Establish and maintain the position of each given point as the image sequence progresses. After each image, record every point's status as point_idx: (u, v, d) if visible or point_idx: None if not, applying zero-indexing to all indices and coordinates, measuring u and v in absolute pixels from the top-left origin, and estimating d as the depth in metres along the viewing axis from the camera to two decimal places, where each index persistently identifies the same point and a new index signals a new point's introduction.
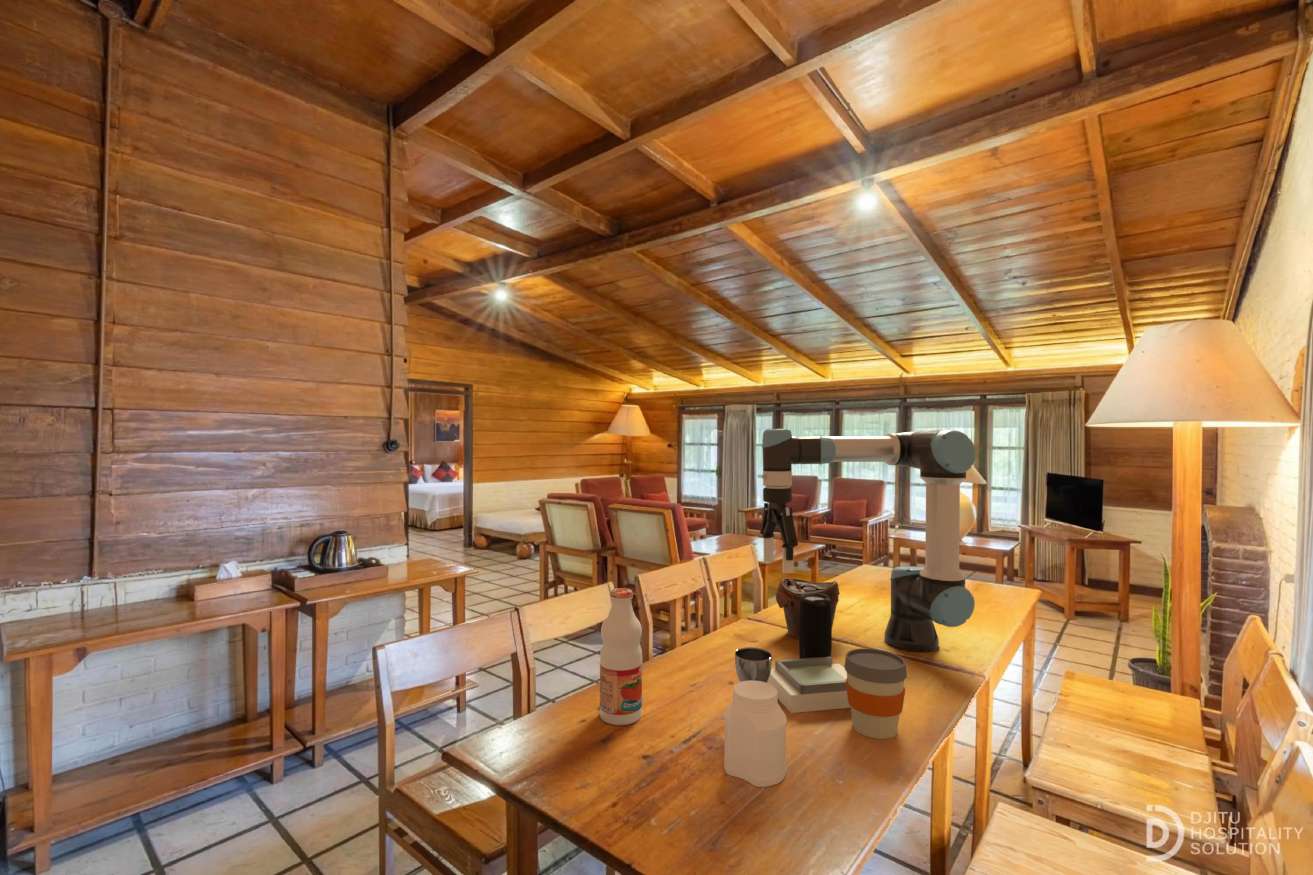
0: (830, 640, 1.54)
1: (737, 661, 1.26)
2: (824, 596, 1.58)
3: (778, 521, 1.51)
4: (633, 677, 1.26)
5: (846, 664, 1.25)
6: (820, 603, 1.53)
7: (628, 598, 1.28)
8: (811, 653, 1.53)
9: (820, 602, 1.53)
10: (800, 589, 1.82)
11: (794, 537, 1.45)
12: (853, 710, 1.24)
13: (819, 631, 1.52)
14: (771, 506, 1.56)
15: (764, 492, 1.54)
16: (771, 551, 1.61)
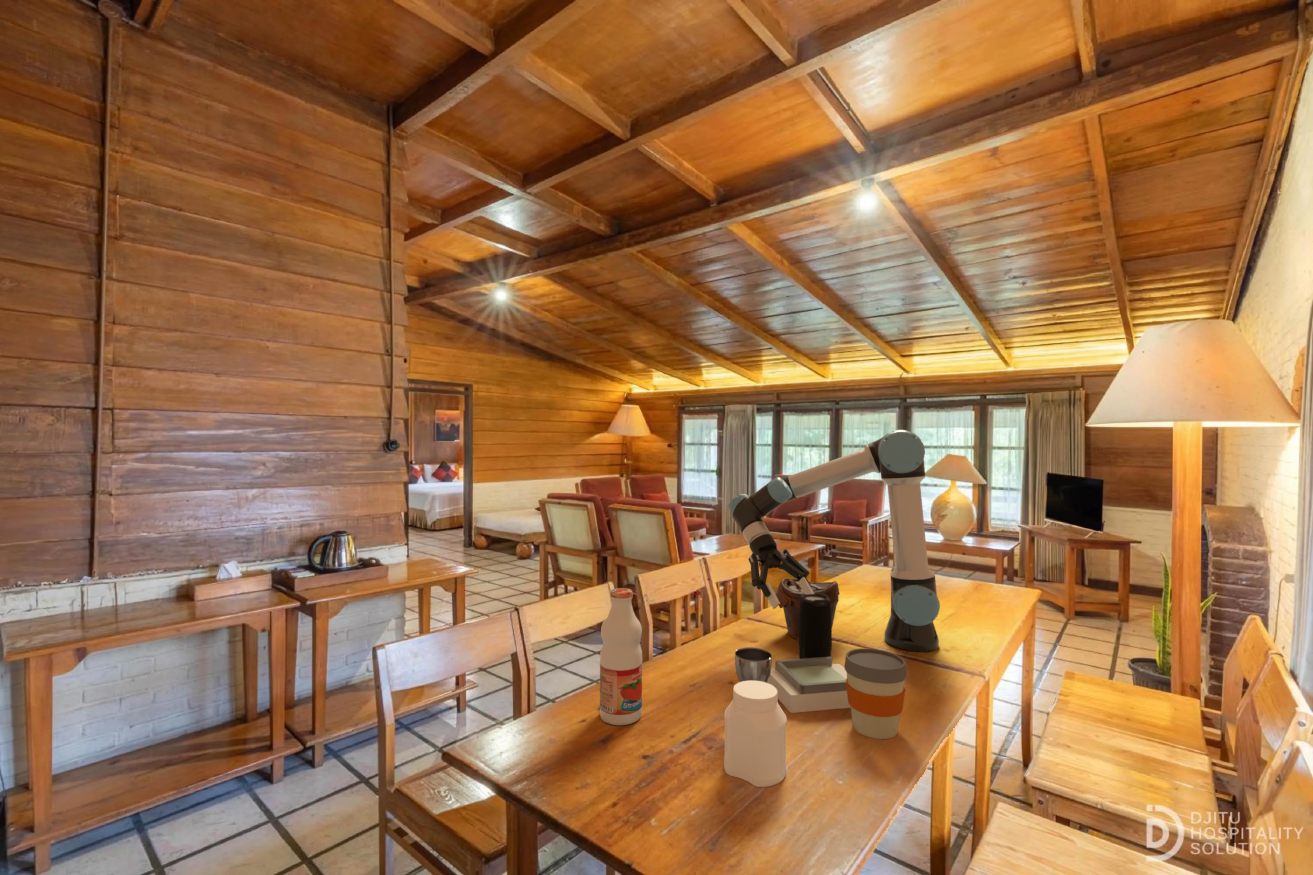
0: (830, 640, 1.54)
1: (737, 661, 1.26)
2: (824, 596, 1.58)
3: (761, 568, 1.69)
4: (633, 677, 1.26)
5: (846, 664, 1.25)
6: (820, 603, 1.53)
7: (628, 598, 1.28)
8: (811, 653, 1.53)
9: (820, 602, 1.53)
10: (800, 589, 1.82)
11: (754, 576, 1.63)
12: (853, 710, 1.24)
13: (819, 631, 1.52)
14: None
15: None
16: (807, 589, 1.67)
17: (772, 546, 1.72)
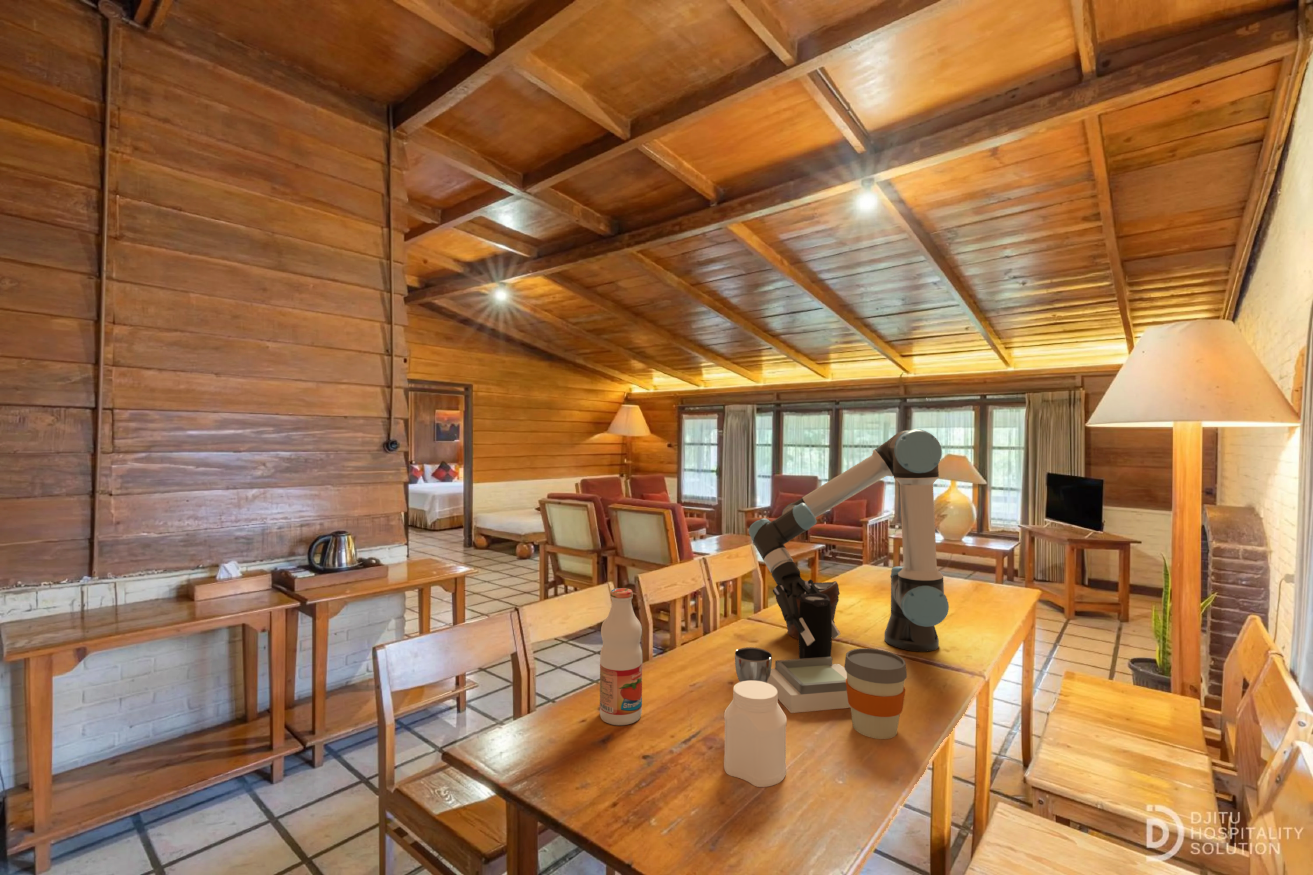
0: (830, 640, 1.54)
1: (737, 661, 1.26)
2: (824, 596, 1.58)
3: (787, 599, 1.61)
4: (633, 677, 1.26)
5: (846, 664, 1.25)
6: (820, 603, 1.53)
7: (628, 598, 1.28)
8: (811, 653, 1.53)
9: (820, 602, 1.53)
10: None
11: (786, 611, 1.55)
12: (853, 710, 1.24)
13: (819, 631, 1.52)
14: None
15: None
16: None
17: (796, 574, 1.65)
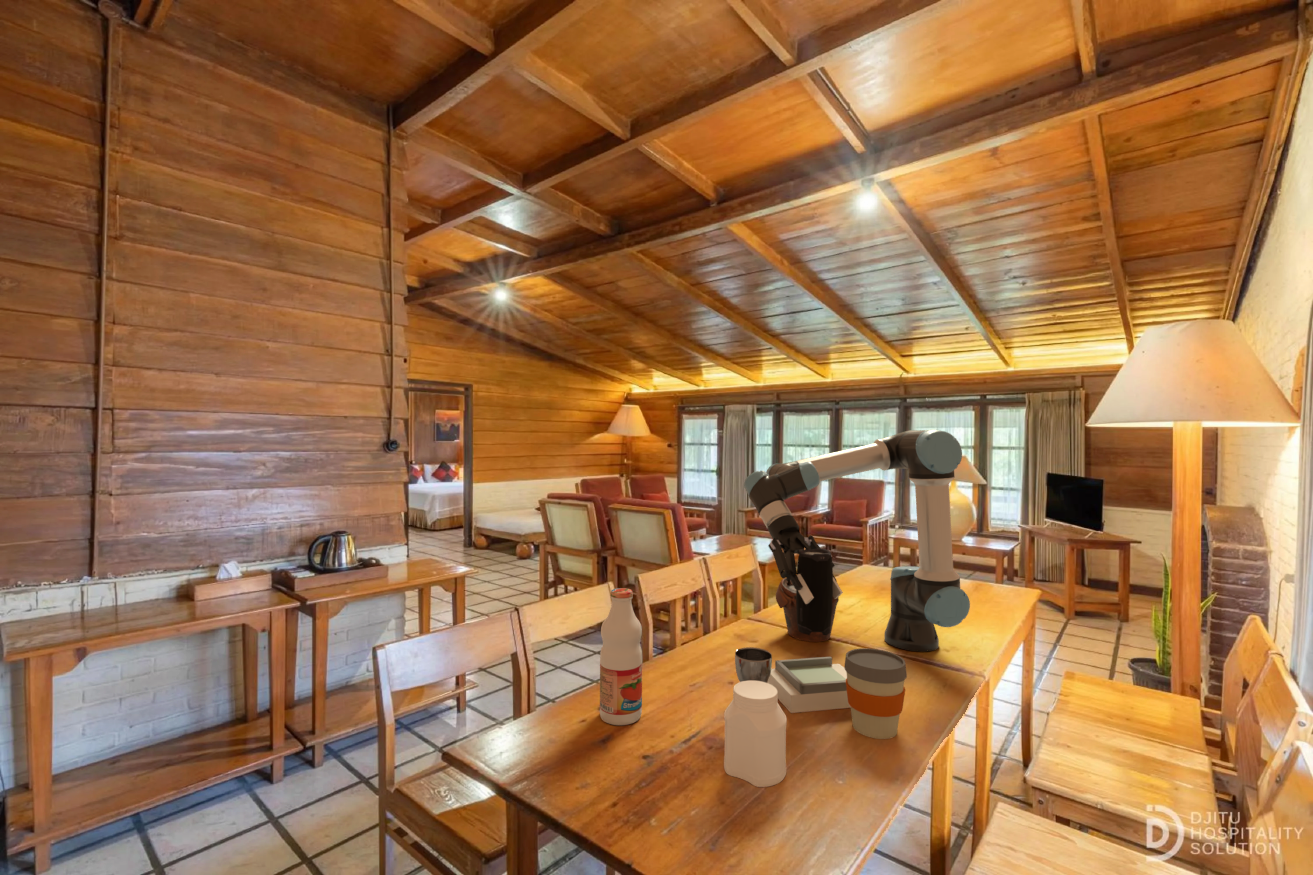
0: (831, 599, 1.39)
1: (737, 661, 1.26)
2: (825, 551, 1.43)
3: (784, 555, 1.46)
4: (633, 677, 1.26)
5: (846, 664, 1.25)
6: (820, 557, 1.38)
7: (628, 598, 1.28)
8: (809, 613, 1.38)
9: (820, 557, 1.38)
10: None
11: (782, 566, 1.40)
12: (853, 710, 1.24)
13: (818, 588, 1.37)
14: None
15: None
16: None
17: (794, 529, 1.50)
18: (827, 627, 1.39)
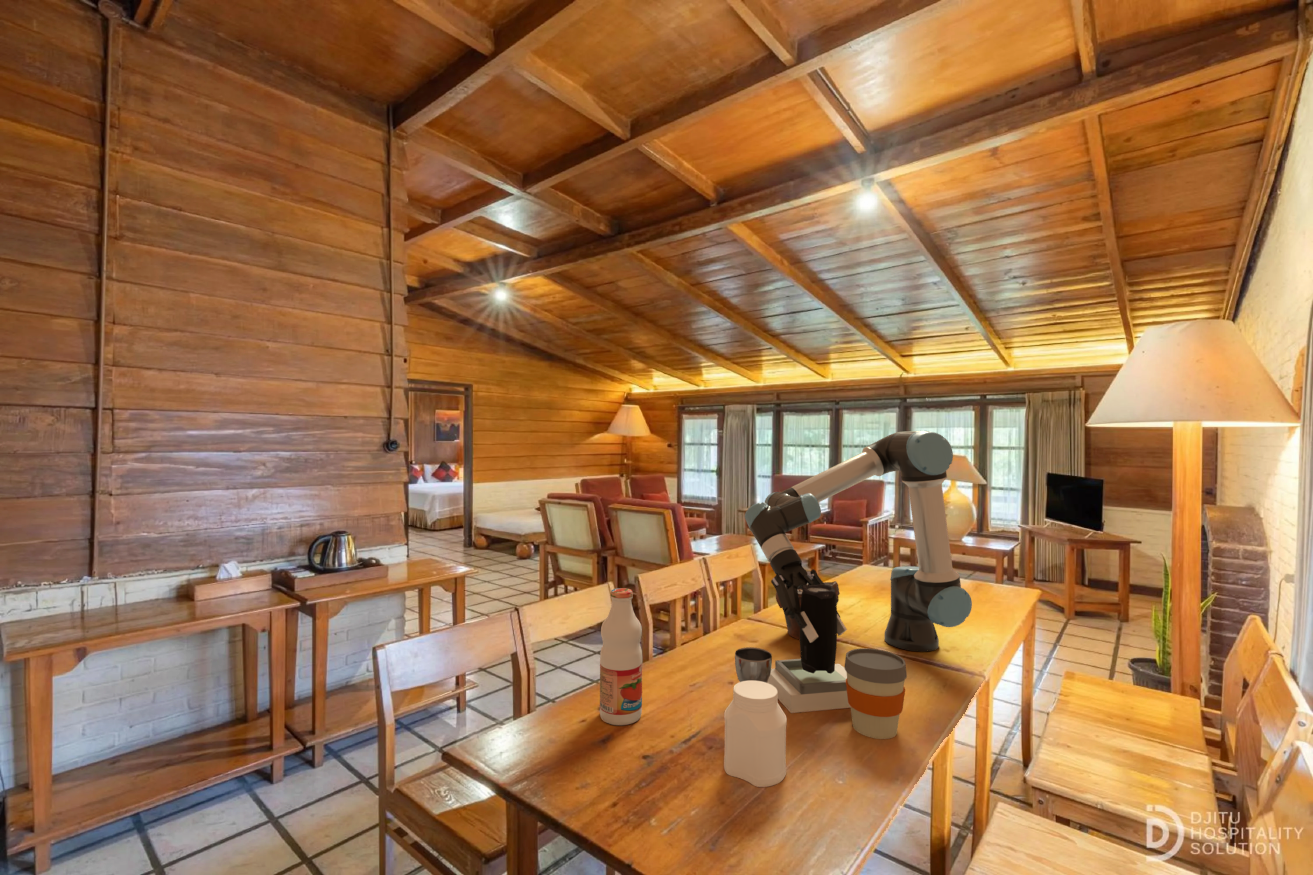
0: (835, 636, 1.37)
1: (737, 661, 1.26)
2: (828, 587, 1.41)
3: (787, 591, 1.44)
4: (633, 677, 1.26)
5: (846, 664, 1.25)
6: (824, 595, 1.36)
7: (628, 598, 1.28)
8: (814, 651, 1.36)
9: (824, 594, 1.36)
10: (800, 589, 1.82)
11: (786, 604, 1.38)
12: (853, 710, 1.24)
13: (823, 626, 1.35)
14: None
15: None
16: None
17: (797, 563, 1.48)
18: (832, 665, 1.37)
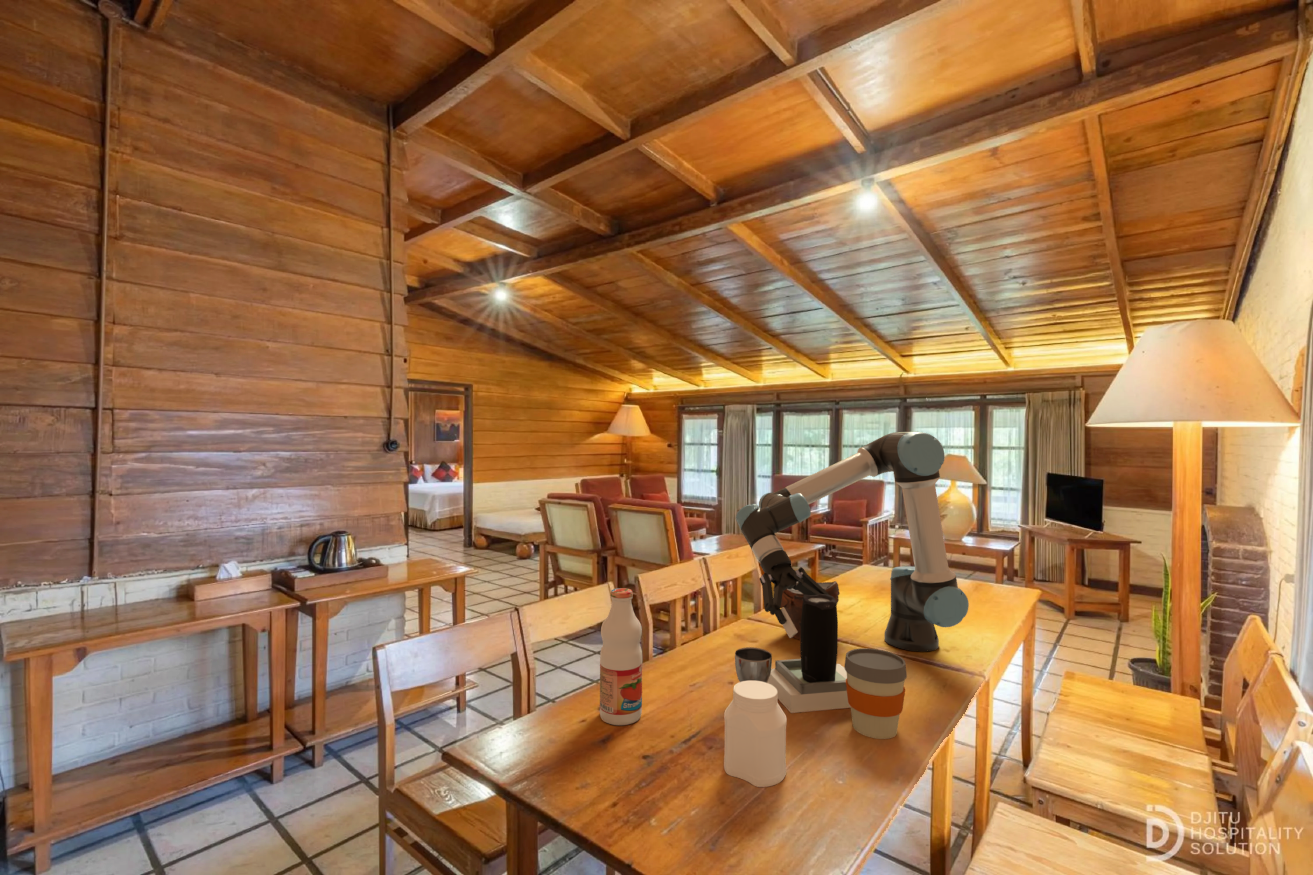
0: (836, 647, 1.37)
1: (737, 661, 1.26)
2: (829, 597, 1.41)
3: (774, 589, 1.47)
4: (633, 677, 1.26)
5: (846, 664, 1.25)
6: (825, 605, 1.36)
7: (628, 598, 1.28)
8: (814, 662, 1.36)
9: (825, 605, 1.36)
10: None
11: (767, 600, 1.41)
12: (853, 710, 1.24)
13: (824, 637, 1.35)
14: None
15: None
16: None
17: (786, 564, 1.51)
18: (832, 676, 1.37)
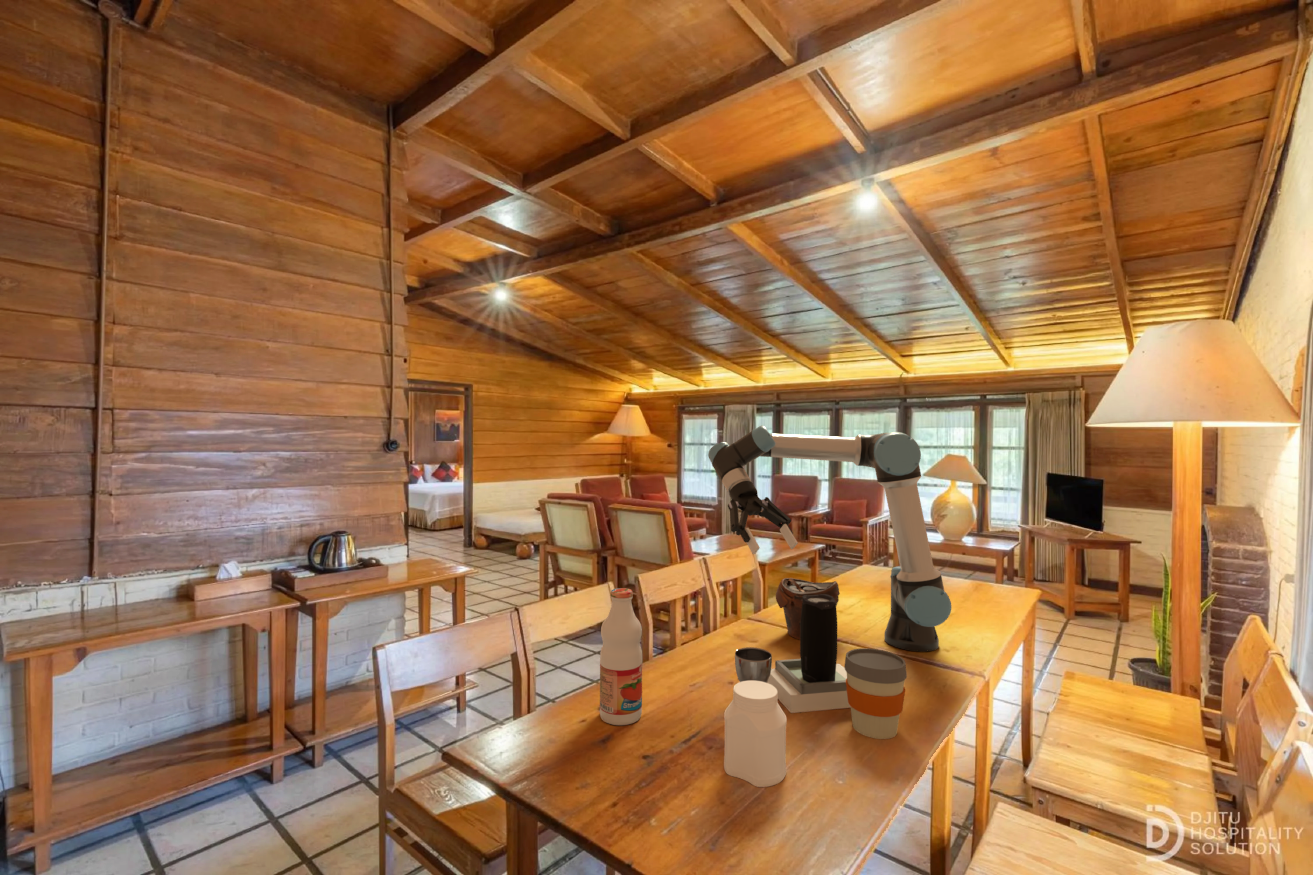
0: (836, 647, 1.37)
1: (737, 661, 1.26)
2: (829, 597, 1.41)
3: (741, 515, 1.62)
4: (633, 677, 1.26)
5: (846, 664, 1.25)
6: (824, 605, 1.36)
7: (628, 598, 1.28)
8: (814, 662, 1.36)
9: (824, 605, 1.36)
10: (800, 589, 1.82)
11: (733, 521, 1.56)
12: (853, 710, 1.24)
13: (823, 637, 1.35)
14: None
15: None
16: (789, 536, 1.60)
17: (752, 493, 1.65)
18: (832, 676, 1.37)
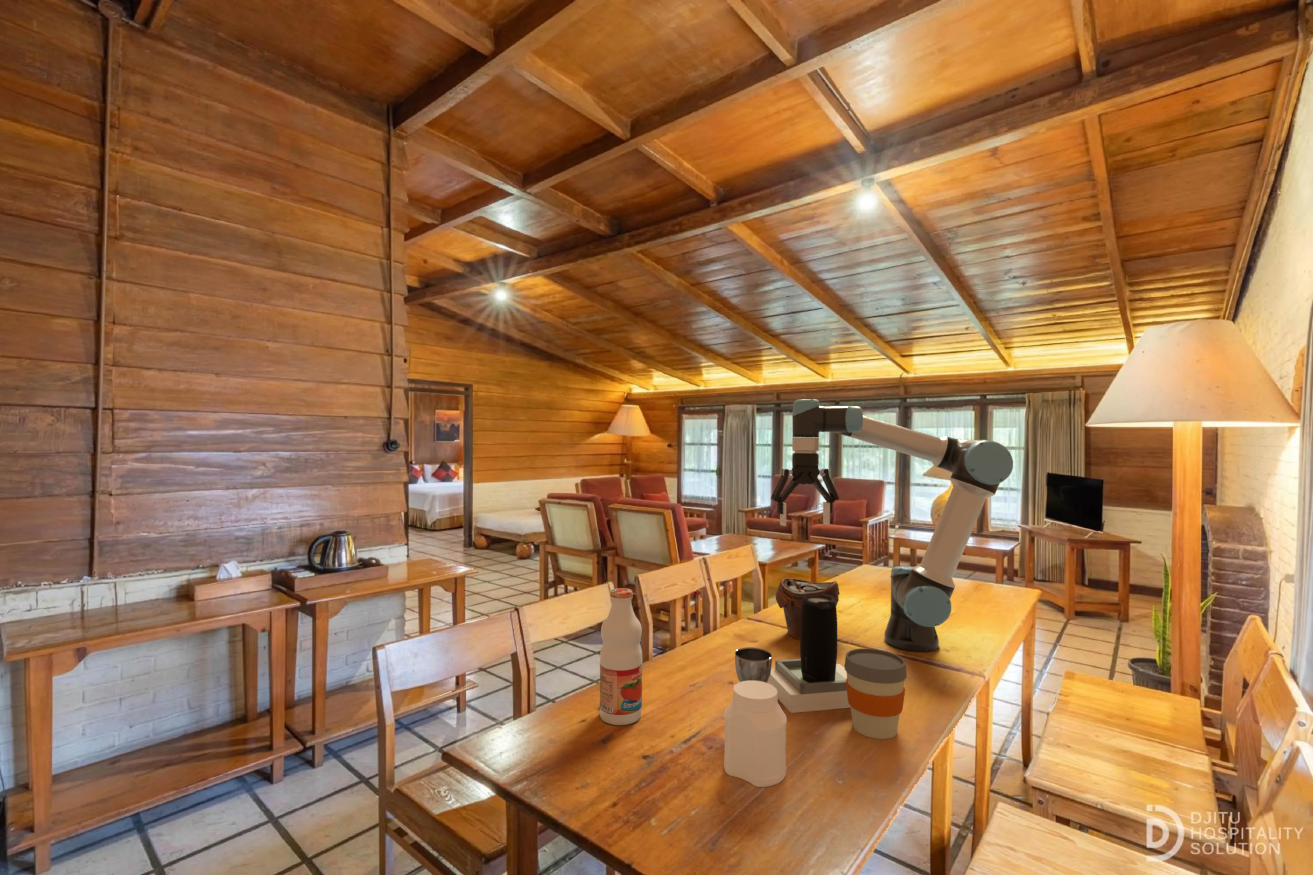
0: (836, 647, 1.37)
1: (737, 661, 1.26)
2: (829, 597, 1.41)
3: (790, 481, 1.71)
4: (633, 677, 1.26)
5: (846, 664, 1.25)
6: (824, 605, 1.36)
7: (628, 598, 1.28)
8: (814, 662, 1.36)
9: (824, 605, 1.36)
10: (800, 589, 1.82)
11: (775, 493, 1.68)
12: (853, 710, 1.24)
13: (823, 637, 1.35)
14: None
15: None
16: (826, 514, 1.71)
17: (812, 466, 1.68)
18: (832, 676, 1.37)
